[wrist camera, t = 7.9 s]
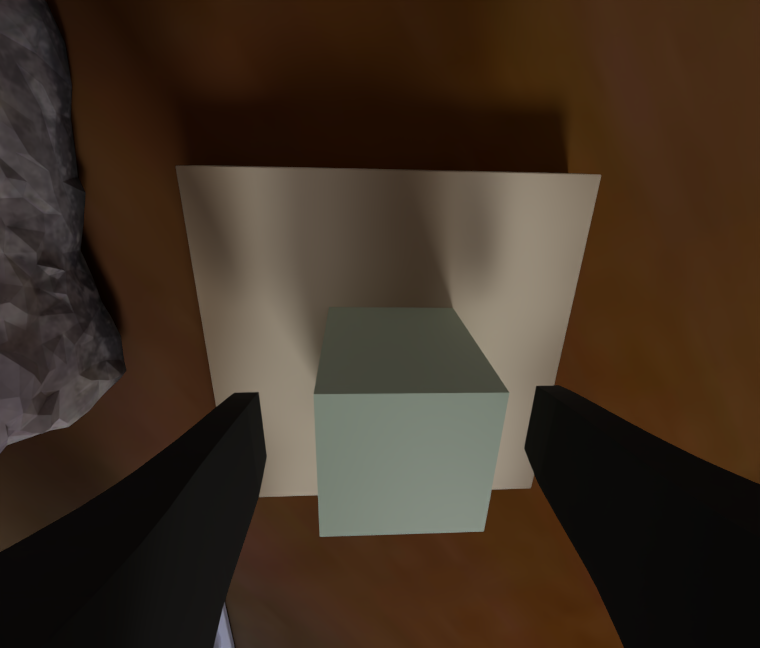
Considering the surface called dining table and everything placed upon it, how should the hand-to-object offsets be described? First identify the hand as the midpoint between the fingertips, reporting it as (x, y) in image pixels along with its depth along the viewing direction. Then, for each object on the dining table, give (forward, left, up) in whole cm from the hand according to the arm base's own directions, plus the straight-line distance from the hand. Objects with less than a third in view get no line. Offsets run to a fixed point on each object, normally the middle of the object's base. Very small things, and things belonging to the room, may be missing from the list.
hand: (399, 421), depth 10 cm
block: (0, 0, -3) cm, 3 cm away
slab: (0, 0, -6) cm, 6 cm away
